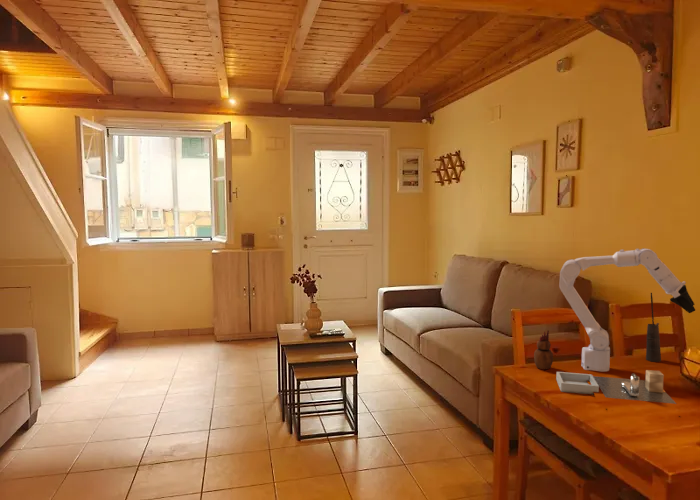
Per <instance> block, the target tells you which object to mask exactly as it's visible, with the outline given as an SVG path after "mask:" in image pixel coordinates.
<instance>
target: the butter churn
mask: <svg viewBox="0 0 700 500" xmlns="http://www.w3.org/2000/svg"><path fill="white" fill-rule="evenodd" d="M650 303H651V308H650V309H651V319H652V322H651V323H647V328H646V347H645V348H646V350H645V351H646V353H645V361H649V362H653V363H654V362H658V363H659V362H662V356H661V355H662V354H661V352H662V351H661V341H660V338H661V337H660V327H659V325H660V323H659V322H657V323H655V321H654V320H655V319H654V300H653V292H650Z"/></svg>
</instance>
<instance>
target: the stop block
mask: <svg viewBox="0 0 700 500" xmlns="http://www.w3.org/2000/svg"><path fill="white" fill-rule="evenodd" d="M664 377H665V375H664V374H663V373H662V371H660V370H650V369H646V370H645V380H646V381H645V387H646V388H647V390H648V391H650V392H662V393H663V390H664Z"/></svg>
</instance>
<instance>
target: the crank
mask: <svg viewBox="0 0 700 500" xmlns="http://www.w3.org/2000/svg"><path fill="white" fill-rule="evenodd" d="M630 379H631V381H630V382H621V386H622V387H624V388H625V389H626V390H627V392H628V393H629V394H630V395H631V396H639V380H640V376H638V375H636V373H631V375H630Z"/></svg>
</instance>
